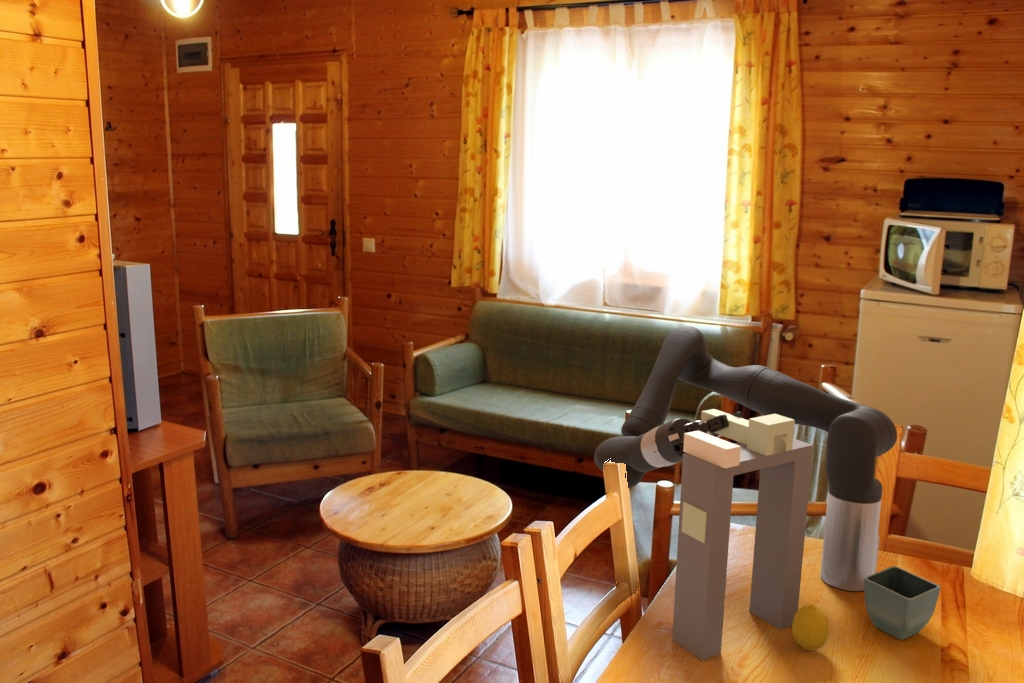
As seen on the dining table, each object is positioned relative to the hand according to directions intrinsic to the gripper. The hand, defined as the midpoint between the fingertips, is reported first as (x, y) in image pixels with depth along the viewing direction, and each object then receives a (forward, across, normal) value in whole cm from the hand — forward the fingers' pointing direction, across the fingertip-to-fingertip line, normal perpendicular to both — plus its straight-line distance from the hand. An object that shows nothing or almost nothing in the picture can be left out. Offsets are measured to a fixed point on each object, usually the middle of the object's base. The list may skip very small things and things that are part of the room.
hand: (733, 419), depth 141 cm
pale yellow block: (0, 0, -4) cm, 4 cm away
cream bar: (+4, +12, -6) cm, 14 cm away
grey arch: (-12, +3, -34) cm, 36 cm away
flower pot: (0, -21, -40) cm, 46 cm away
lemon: (-3, -3, -39) cm, 39 cm away
